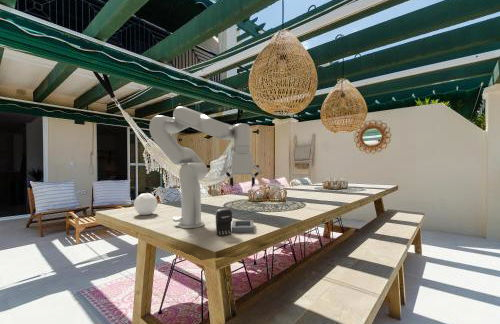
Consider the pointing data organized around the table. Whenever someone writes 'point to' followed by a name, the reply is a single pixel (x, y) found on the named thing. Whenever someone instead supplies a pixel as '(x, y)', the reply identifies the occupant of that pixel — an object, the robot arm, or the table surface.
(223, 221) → the battery
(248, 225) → the dock
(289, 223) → the table surface
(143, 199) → the geodesic sphere
